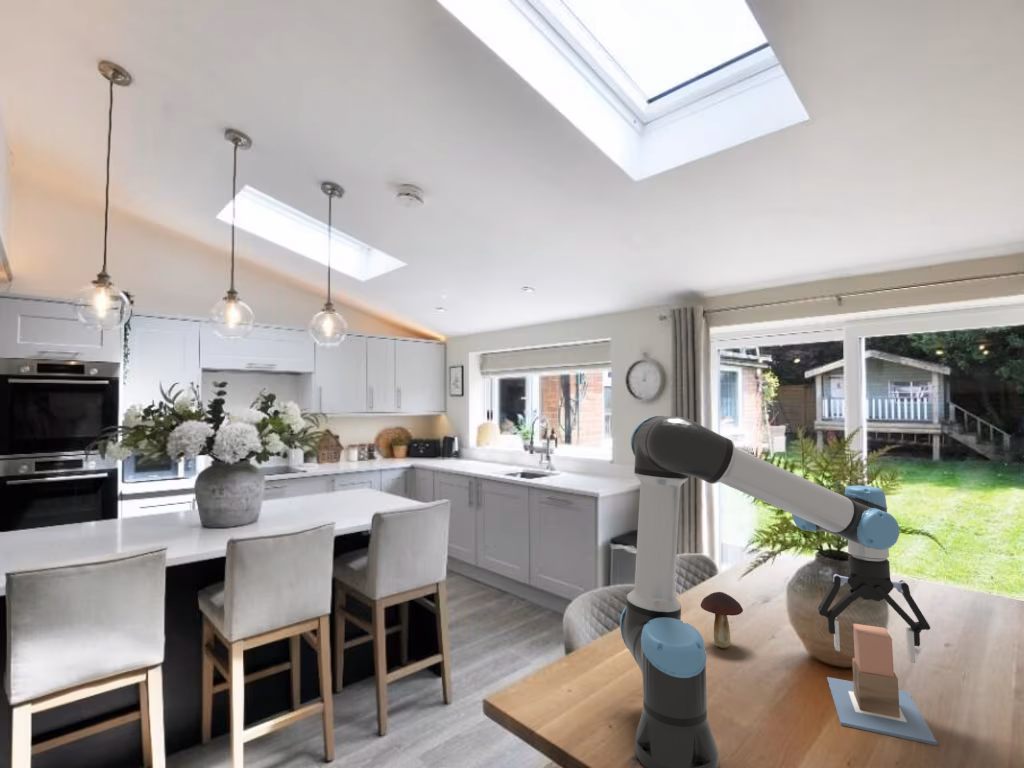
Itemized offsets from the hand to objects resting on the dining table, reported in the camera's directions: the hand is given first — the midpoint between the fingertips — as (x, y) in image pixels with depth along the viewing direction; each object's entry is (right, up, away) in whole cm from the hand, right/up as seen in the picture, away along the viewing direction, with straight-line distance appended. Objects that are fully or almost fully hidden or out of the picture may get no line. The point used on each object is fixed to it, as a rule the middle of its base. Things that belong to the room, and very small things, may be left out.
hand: (873, 654), depth 112 cm
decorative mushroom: (-21, -14, +29) cm, 39 cm away
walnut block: (0, -11, -1) cm, 11 cm away
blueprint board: (0, -12, -1) cm, 12 cm away
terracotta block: (0, -3, 0) cm, 3 cm away
